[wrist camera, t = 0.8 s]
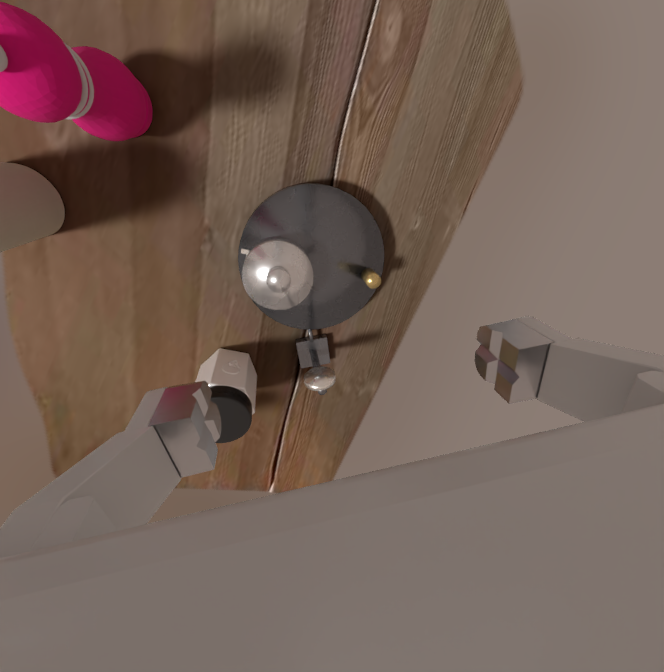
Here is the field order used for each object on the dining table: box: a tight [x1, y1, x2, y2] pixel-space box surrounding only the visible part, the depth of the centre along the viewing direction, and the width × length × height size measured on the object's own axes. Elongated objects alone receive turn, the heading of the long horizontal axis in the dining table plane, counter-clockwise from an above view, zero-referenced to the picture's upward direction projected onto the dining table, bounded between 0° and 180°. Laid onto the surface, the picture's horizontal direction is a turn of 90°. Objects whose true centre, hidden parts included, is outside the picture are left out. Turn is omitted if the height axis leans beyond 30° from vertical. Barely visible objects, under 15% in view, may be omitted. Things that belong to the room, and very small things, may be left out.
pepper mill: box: [0, 2, 153, 141], centre depth 26 cm, size 7×7×20 cm
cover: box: [242, 237, 314, 310], centre depth 41 cm, size 9×9×4 cm
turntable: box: [238, 183, 384, 329], centre depth 43 cm, size 20×20×5 cm
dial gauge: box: [295, 329, 336, 395], centre depth 48 cm, size 7×5×12 cm
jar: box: [196, 348, 257, 443], centre depth 47 cm, size 9×8×12 cm
